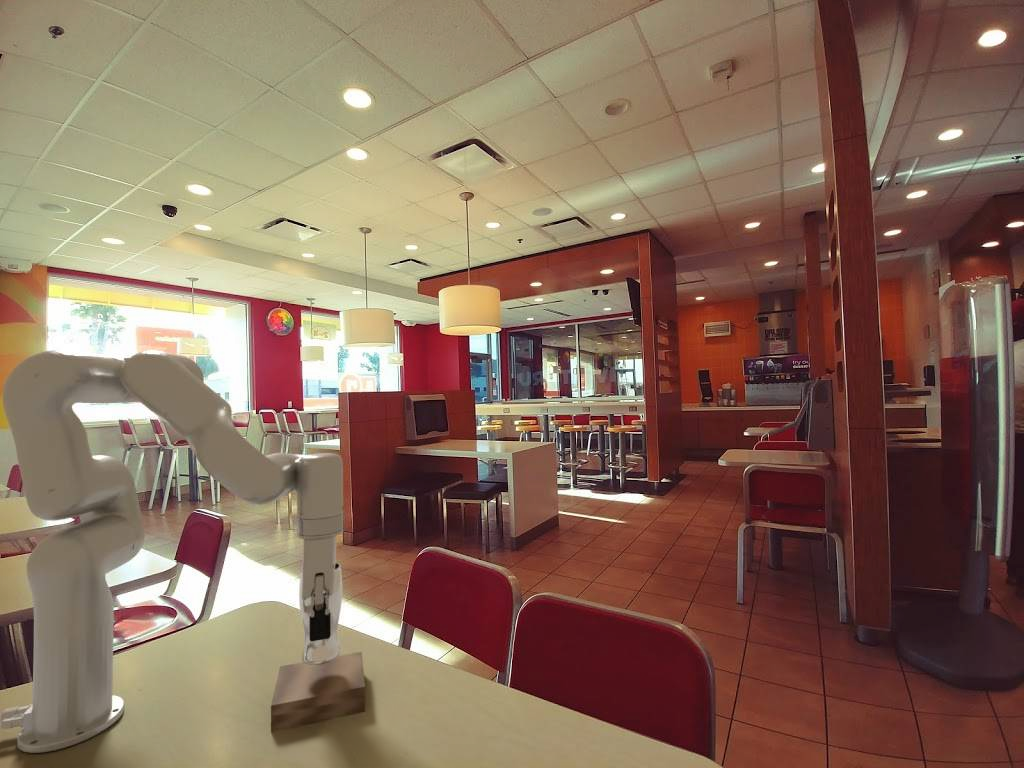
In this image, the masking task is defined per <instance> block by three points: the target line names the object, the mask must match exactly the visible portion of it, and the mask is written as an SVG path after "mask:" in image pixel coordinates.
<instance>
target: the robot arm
mask: <svg viewBox="0 0 1024 768" xmlns="http://www.w3.org/2000/svg"><path fill="white" fill-rule="evenodd" d="M204 380H205V377H204V373H203V370H202V368H201V367H200V366H199V364H198V363H196V362H195V361H194V360H193V359H191V358H189V357H187V356H185V355H181V354H175V353H170V352H166V351H161V350H160V351H159V350H145V351H142V352H138V353H136V354H134V355H132V356H113V355H112V356H110V355H107V354H106V355H105V354H100V353H99V354H98V353H92V352H87V351H79V350H72V349H54V350H53V349H52V350H47V351H41V352H39V353H35V354H33V355H30V356H28V357H27V358H25V359H24V360H22V361H21V362H20V363H18V364H17V365H16V366H15V367H14V368H13V369H12V371H11V372H10V373H9V375H8V377H7V378H6V379H5V382H4V386H3V389H2V404H3V410H4V413H5V417H6V419H7V423H8V426H9V428H10V431H11V434H12V437H13V440H14V445H15V451H16V456H17V462H18V467H19V472H20V477H21V482H22V486H23V490H24V491H23V492H24V495H25V496H24V497H25V499H26V503H27V505H28V508H29V511H30V512H31V513H32V515H33V516H35V517H36V518H39V519H40V520H43V521H54V522H55V521H61V520H68V519H71V518H75V517H79V521H80V523H77V524H74V525H71V526H68V527H66V528H62V529H59V530H58V531H56V532H53V533H51V534H50V535H48V536H46V537H45V538H44V539H43V540H41V541H40V542H39V543H37V544H36V546H35V547H34V549H33V550H32V551H31V553H30V554H29V556H28V558H27V563H26V577H27V581H28V582H27V583H28V586H29V589H30V591H31V592H30V593H31V598H32V604H33V662H32V663H33V664H32V665H33V667H32V669H33V673H32V702H31V703H30V704H29V705H25V706H14V707H9V708H5V709H4V710H3V711H2V713H1V715H0V723H1V725H0V730H2V731H3V730H4V731H5V730H8V729H9V730H10V729H13V728H16V727H20V728H22V729H21V730H20V732H19V733H18V736H17V738H16V739H17V741H16V742H17V745H16V746H17V748H18V749H19V750H20V751H21V752H24V753H29V754H33V753H34V754H38V753H47V752H53V751H57V750H61V749H65V748H68V747H72V746H73V745H74V746H75V745H77V744H79V743H81V742H83V741H86V740H89V739H90V738H92V737H94V736H96V735H99V734H100V733H102V732H103V731H105V730H106V729H107V728H110V727H111V726H112V725H114V723H115V722H116V721H118V720H119V719H120V717H121V716H122V715H123V713H124V711H125V701H124V698H122V697H120V696H118V695H116V694H115V695H113V685H114V684H113V678H114V677H113V675H114V673H113V672H114V612H115V611H114V609H115V608H114V607H115V606H114V599H113V595H112V592H111V589H110V587H109V584H108V583H107V580H106V575H107V574H108V573H110V572H112V571H114V570H115V569H118V568H119V567H121V566H124V565H125V564H127V563H129V562H130V561H132V560H133V559H134V558H135V557H136V556H137V555H138V554H139V553H140V551H141V550H142V548H143V545H144V542H145V526H144V520H143V516H142V512H141V506H140V502H139V497H138V493H137V487H136V483H135V479H134V476H133V474H132V472H131V470H130V469H129V467H128V466H127V464H125V463H124V462H123V461H122V460H119V459H118V458H116V457H113V456H109V455H103V454H100V455H99V454H96V455H92V452H91V449H90V444H89V438H88V433H87V430H86V428H85V426H84V423H83V422H82V421H81V419H80V417H78V415H77V414H76V413H75V411H74V410H73V405H75V404H77V403H80V404H118V403H119V404H123V403H141V404H142V405H144V407H146V408H147V409H148V410H150V411H151V412H152V413H154V415H156V417H158V418H160V420H162V421H164V423H165V424H167V425H168V426H169V427H171V429H173V430H174V431H175V432H176V433H178V434H179V436H181V437H183V439H184V440H186V441H187V443H188V445H189V448H190V450H191V451H192V453H193V455H194V456H195V458H196V460H197V461H198V463H199V464H200V466H201V467H202V468H203V469H204V471H206V473H207V474H208V475H209V476H210V477H211V478H212V479H214V480H215V481H216V482H218V483H219V484H220V485H221V486H222V487H224V488H225V489H226V490H228V491H229V492H230V493H231V494H232V495H234V496H235V497H236V498H238V499H240V500H241V501H243V502H246V503H247V504H250V505H254V506H255V505H256V506H264V505H268V504H272V503H273V502H275V501H277V500H279V499H280V498H282V497H284V496H287V495H290V494H294V493H296V537H297V538H299V539H302V541H303V542H302V560H301V561H302V562H301V563H302V565H301V567H302V568H301V569H302V599H303V600H306V599H307V598H310V595H311V616H310V641H317V640H323V639H328V638H330V635H331V632H330V613H329V597H330V596H331V595H332V594H333V588H334V579H335V569H336V562H337V536H339V535H341V534H342V533H343V532H344V462H343V461H344V460H343V458H342V456H341V455H340V454H337V453H335V452H334V453H333V452H319V453H310V454H298V453H291V452H290V453H289V452H276V453H271V454H268V455H266V454H263V453H262V452H261V451H260V450H258V448H256V447H255V446H254V445H252V444H251V443H250V442H249V441H248V440H247V439H246V438H245V437H244V436H243V435H242V434H241V433H240V432H239V431H238V429H237V427H236V426H235V425H234V422H233V419H232V414H233V413H232V412H233V411H232V407H231V404H230V403H229V402H228V401H226V400H225V399H224V398H223V397H222V396H221V395H219V394H218V393H217V392H216V391H214V390H213V389H212V388H211V387H209V386H208V385H207V384H206V383H205V382H204ZM323 590H326V595H323ZM314 591H315V596H314ZM323 599H325V602H323Z"/></svg>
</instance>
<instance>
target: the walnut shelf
mask: <svg viewBox="0 0 1024 768" xmlns="http://www.w3.org/2000/svg"><path fill="white" fill-rule="evenodd" d="M363 659H364V658H363V652H362V651H359V652H358V651H357V652H354V653H353V652H352V653H347V654H341V655H340V654H339V655H338V657H337V658H335V659H334V660H332V661H330V662H328V663H324V664H320V665H308V664H305V663H304V662H303V661H302V662H297V663H293V664H292V663H291V664H287V665H286V664H285V665H281V666H279V669H278V674H277V679H276V683H275V687H274V690H273V696H272V701H271V703H270V732H271V733H273V732H277V731H283V730H287V729H291V728H295V727H300V726H304V725H310V724H314V723H318V722H323V721H326V720H331V719H336V718H341V717H345V716H349V715H354V714H359V713H364V712H366V684H365V682H366V681H365V672H364V662H363Z"/></svg>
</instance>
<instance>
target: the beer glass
mask: <svg viewBox="0 0 1024 768" xmlns="http://www.w3.org/2000/svg"><path fill="white" fill-rule="evenodd" d="M299 577H300V578H299V588H298V589H299V591H298V593H299V594H298V595H299V597H298V598H299V599H298V600H299V601H298V602H299V603H298V604H299V609H300V615H301V616H300V617H301V622H302V626H303V627H302V628H303V632H304V634H303V635H304V646H303V650H302V657H301V659H302V662H304V663H305V664H308V665H320V664H324V663H328V662H330V661H332V660H334V659H335V658H337V657H338V656H340V654H341V649H340V644H339V638H338V630H339V628H338V627H339V622H340V621H339V620H340V615H341V610H342V601H343V578H342V577H343V576H342V565H341V563H340V562H337V561H336V569H335V579H334V588H333V594H332V595H331V596H330V597H329V613H330V632H331V635H330V638H328V639H323V640H317V641H310V616H311V595H310V598H307V599H306V600H303V599H302V568H301V569H300V576H299ZM323 595H326V590H323ZM314 596H315V591H314ZM323 602H325V599H323Z"/></svg>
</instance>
